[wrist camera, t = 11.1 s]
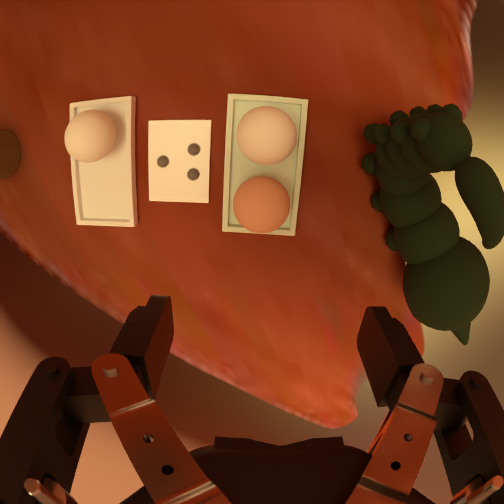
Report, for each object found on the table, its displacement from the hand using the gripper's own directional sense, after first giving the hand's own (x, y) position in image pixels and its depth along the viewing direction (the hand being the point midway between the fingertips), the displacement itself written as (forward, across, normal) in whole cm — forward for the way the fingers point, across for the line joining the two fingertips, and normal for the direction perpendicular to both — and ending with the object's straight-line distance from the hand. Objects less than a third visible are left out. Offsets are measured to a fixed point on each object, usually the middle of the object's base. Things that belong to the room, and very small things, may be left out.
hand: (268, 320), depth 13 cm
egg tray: (+20, +16, -3) cm, 25 cm away
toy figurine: (+20, -16, +1) cm, 25 cm away
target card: (+20, +8, -3) cm, 21 cm away
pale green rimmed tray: (+20, 0, -3) cm, 20 cm away
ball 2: (+19, 0, -6) cm, 20 cm away
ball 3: (+19, 0, 0) cm, 19 cm away
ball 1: (+19, +16, -6) cm, 26 cm away
